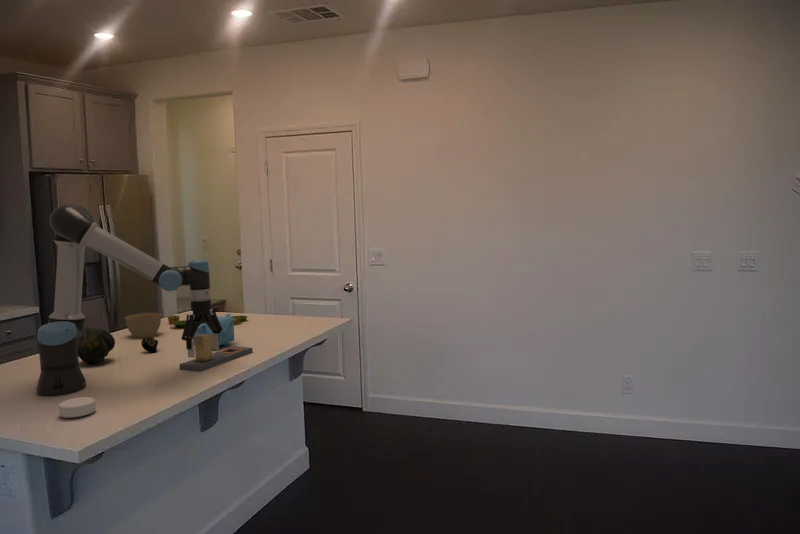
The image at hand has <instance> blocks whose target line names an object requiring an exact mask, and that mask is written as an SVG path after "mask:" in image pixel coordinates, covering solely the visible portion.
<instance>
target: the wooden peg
mask: <svg viewBox="0 0 800 534" xmlns="http://www.w3.org/2000/svg"><path fill="white" fill-rule="evenodd" d="M194 338H195V346H194V351H195V359H196V362H204V363H205V362H208V361H211V360H212V353H213V350H212V343H211V334H200V335H196V336H194Z"/></svg>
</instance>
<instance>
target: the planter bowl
mask: <svg viewBox="0 0 800 534" xmlns="http://www.w3.org/2000/svg"><path fill="white" fill-rule="evenodd" d="M161 318H162V314H161V313H157V312H145V313H137V314H130V315H128V316H125V318H124V320H125V324H126V327H127V329H128V332H130V334H131V335H132V336H133V338H134V339H142V340H143V339H144V338H145V337H148V336H149V337H152V338H154V337H155V336H156V334H157V332H158V331H159V329H160V327H161V321H162V320H161Z"/></svg>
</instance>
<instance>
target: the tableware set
mask: <svg viewBox="0 0 800 534" xmlns="http://www.w3.org/2000/svg"><path fill="white" fill-rule="evenodd" d="M180 317H181V316H180V315H170V316H167V320H168V325H169V326H170V325H171V327H169V329H170V330H174V331H175V330H177V331H178V330H180V331H181V330H183V329H184V328H185V324H186V319H185V320H180ZM229 317H233V319H237V320H235V321H234V326H239V325H240V324H241V323H244V322H246V320H247V319H248V316H247V315H232V316H231V315H230V316H229ZM243 321H244V322H243ZM238 324H239V325H238ZM174 327H175V328H174Z"/></svg>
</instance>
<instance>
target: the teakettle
mask: <svg viewBox="0 0 800 534" xmlns="http://www.w3.org/2000/svg"><path fill="white" fill-rule="evenodd" d="M231 315H232V313H230V312H229V313H226V314H225V315H224V316H223V315H222V316H220V315H219V316H218V315H217V318H218V320H219V322H220V325H221V327H222V331H221V333H219V341H218V345H219V350H220V346H222V347H228V346H230V344H229V343H231V342H233V341H235V325H234V321H235V320H237V319H233V317H230V316H231ZM195 323H196V322H195ZM212 333H213V332H212V331H211V329H210V328H209V327H208V325H207V324H206V323H203V324H200V326H198V329H197V331H196V333H195V335H194V336H196V335H200V334H212ZM192 341H194V347H195V338H194V337H193V339H192ZM211 343H212V337H211Z"/></svg>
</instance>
